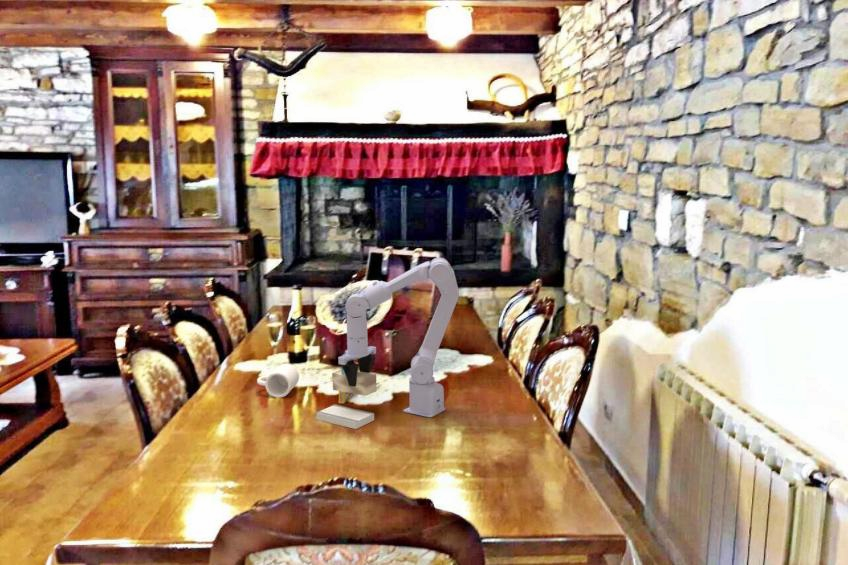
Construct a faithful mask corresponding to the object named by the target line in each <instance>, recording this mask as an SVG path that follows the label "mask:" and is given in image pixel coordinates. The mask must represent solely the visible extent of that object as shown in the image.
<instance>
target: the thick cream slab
mask: <svg viewBox="0 0 848 565" xmlns="http://www.w3.org/2000/svg"><path fill="white" fill-rule="evenodd" d="M331 375H332V377H331V378H332V390H333V391H337V392H339V391H342V392H347V393H353V394H352V395H358V396H359V395H360V396H365V397H366V396H369V395H371V394H373V393H376V392H377V391H378V388H377V385H378V384H377V374H376V373H371V372H370V373H366V372H360V370H359V371H357V382H356V386H355V387H353V386H349V384H348V381H347V377H346V375H342V374H341V369H339V370H337V371H334V372H332V373H331Z"/></svg>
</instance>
